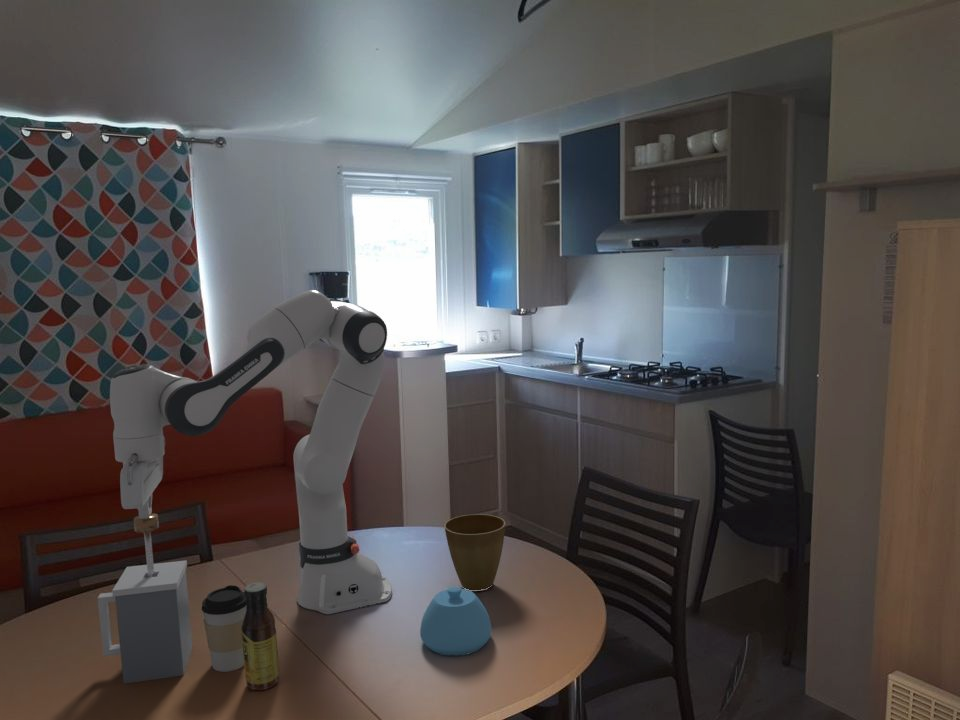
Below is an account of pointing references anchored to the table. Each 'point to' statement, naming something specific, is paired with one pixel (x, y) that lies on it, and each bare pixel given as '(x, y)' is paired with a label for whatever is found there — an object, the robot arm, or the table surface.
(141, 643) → the press jug
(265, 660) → the sauce bottle
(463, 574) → the plant pot
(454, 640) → the sugar bowl
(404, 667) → the table surface
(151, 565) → the press plunger
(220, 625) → the coffee cup
